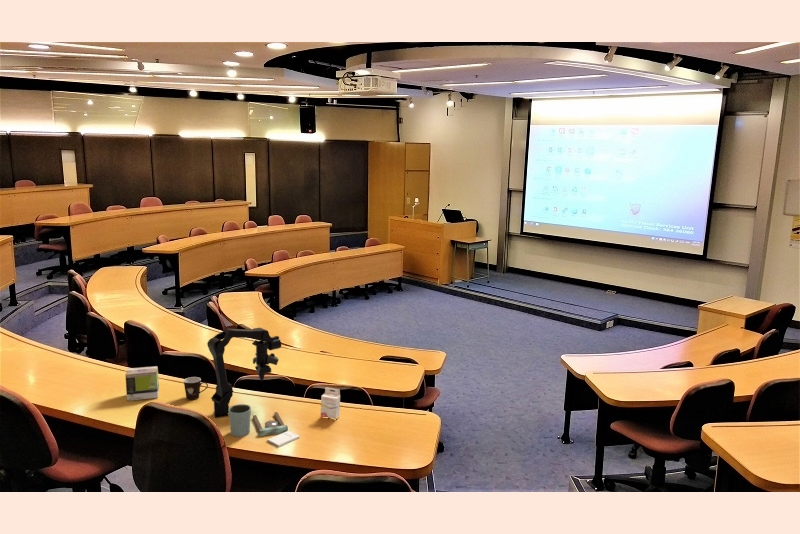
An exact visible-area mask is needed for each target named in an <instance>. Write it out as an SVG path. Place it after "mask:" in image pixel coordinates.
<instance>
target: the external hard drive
mask: <svg viewBox="0 0 800 534" xmlns="http://www.w3.org/2000/svg"><path fill="white" fill-rule="evenodd" d="M300 438H301V436H300V435H299V434H297V433H295V432H292V431H291V430H288V431H287V432H283V433H278V434H277V435H275V436H273V437H270V438H268V439H267V438H266V439H267V440H266V442H268V443H269V444H271V445H274V446H275V447H277V448H280V447H282V446H285V445H287V444H289V443H291V442H294V441H295V440H298V439H300Z"/></svg>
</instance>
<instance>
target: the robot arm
mask: <svg viewBox="0 0 800 534" xmlns="http://www.w3.org/2000/svg"><path fill="white" fill-rule="evenodd" d="M233 338H243V339H255V340H254V341H253V342H252V343H251V345H253V346H254V347H255V353H254V354H255V355H254V357H253V358H252V364H253V365H256V366H254V368H255V370H256V373H257V375H258V377H259V380H260V382H262V381H264V380H265V379H264V378H265V375H266V374H270V373H272V368H271V366H270V364H271V365H275V366H278V363H279V357H277V356H276V355H275V353H272V352H271V353H270V354H269V353H268V350H269V351H275V350H279V349H281V348H282V342H281V339H280V336H279V335H274V336H270V332H269V330H268V329H265V328H262V327H253V328H252V329H240V328H229V327H228V328H224V330H222V331H221V332H219V333H218V334H215V335H214V336H213V337H211V338H210V339H208V341H207V342H206V344H207V348H208V350H209V353H210V354H211V355H212V358H213V363H214V364H213V365H214V370H215V376H216V381H217V382H216V386H215V392H214V394H212V396H211V397H210V399H211V401H212V402H213V415H214V418H221V417H222V418H223V417H229V411H228V410H229V408H230V406H229V405H230V401H231V398H232V397H233V393H234V390H233V384H232V383H230V382H228V378H227V372H226V365H225V360H224V355H225V350H226V349H225V347H226V346H228V345H229V343H230V341H231V340H232V339H233Z"/></svg>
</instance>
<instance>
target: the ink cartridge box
mask: <svg viewBox="0 0 800 534" xmlns="http://www.w3.org/2000/svg"><path fill="white" fill-rule="evenodd" d="M324 390H325V391H324V393H323V394H322V395H321V398H320V399H321V401H320V418H321V417H328V418H334V419H336V418H337V417H338V416H339V415H340V413H341V412H340V411H341V391H340V389H339V388H333V387H324ZM339 417H340V416H339Z"/></svg>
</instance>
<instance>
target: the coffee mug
mask: <svg viewBox="0 0 800 534" xmlns="http://www.w3.org/2000/svg"><path fill="white" fill-rule="evenodd" d="M204 384H205V385H206V387H205V388H204V389H202V390H201V386H202V385H204ZM183 385H184V386H183V387H184V392H185V398H186V400H187V401H195V400H198V399H200V395H201V393H202V392H204V391H206V389H208V388H209V384H208V382H205V381H203V382H202V379H201V377H197V376H191V377H187V378H186V377H185V379H183Z"/></svg>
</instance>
